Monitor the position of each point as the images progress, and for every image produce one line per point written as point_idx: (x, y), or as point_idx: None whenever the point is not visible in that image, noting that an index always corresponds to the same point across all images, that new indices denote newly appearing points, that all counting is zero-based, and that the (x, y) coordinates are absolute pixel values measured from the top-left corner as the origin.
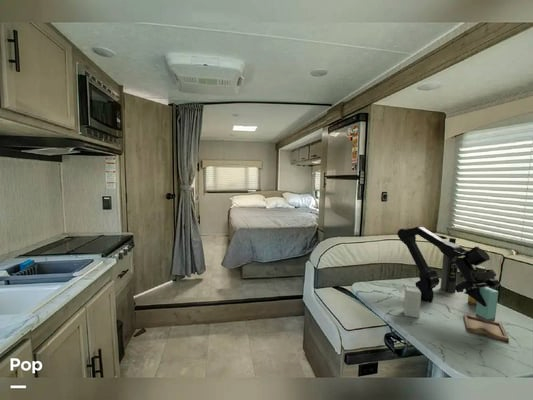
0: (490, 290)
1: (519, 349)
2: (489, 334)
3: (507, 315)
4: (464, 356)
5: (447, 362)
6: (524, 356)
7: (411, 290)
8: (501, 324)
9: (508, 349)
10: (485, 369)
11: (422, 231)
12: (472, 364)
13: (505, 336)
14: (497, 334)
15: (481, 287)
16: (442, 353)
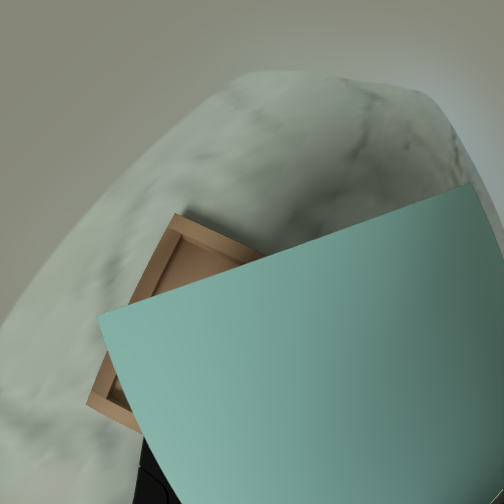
0: (407, 367)
1: (166, 171)
2: (258, 255)
3: (2, 498)
4: (411, 130)
5: (446, 118)
6: (189, 127)
7: None
8: (98, 383)
9: (225, 164)
10: (374, 85)
11: None
12: (399, 103)
13: (180, 232)
14: (216, 247)
15: (488, 501)
16: (455, 147)
